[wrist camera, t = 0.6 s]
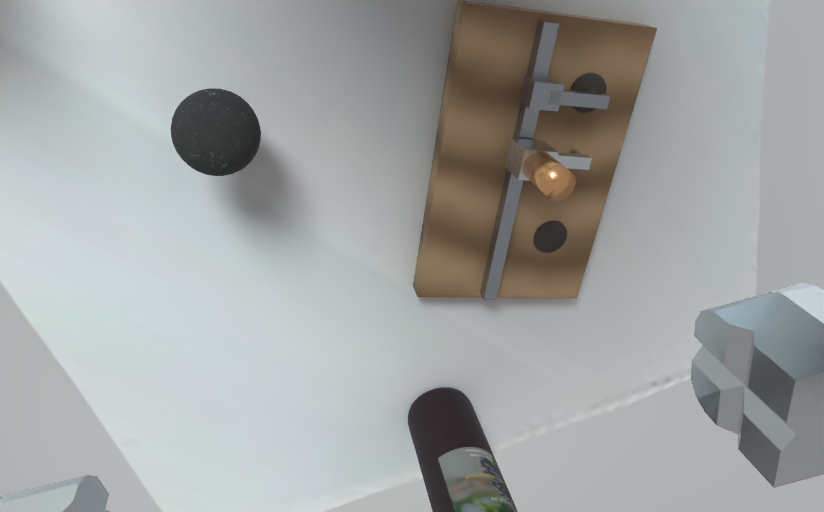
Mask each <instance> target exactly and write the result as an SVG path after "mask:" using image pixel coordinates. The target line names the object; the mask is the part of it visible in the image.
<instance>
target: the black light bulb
mask: <svg viewBox="0 0 824 512" xmlns="http://www.w3.org/2000/svg"><path fill="white" fill-rule="evenodd" d="M171 137H172V141H173V144H174V147H175V149H176V151H177V153H178V154H179V155H180V157H181V158H182V159H183V161H185V162H186V163H187V164H188V165H189V166H190V167H192V168H193V169H195V170H197V171H199V172H201V173H204V174H207V175H213V176H224V175H229V174H233V173H235V172H237V171H239V170H241V169H243V168H244V167H246V166H247V165H248V164H249V163H250V162H251V160H252V159H253V158H254V156H255V154H256V153H257V151H258V148H259V144H260V137H261V131H260V125H259V121H258V119H257V117H256V114H255V113H254V111H253V109H252V108H251V107H250V105H249V104H248V103H247V102H246V101H245V100H243V99H242V98H241V97H239V96H238V95H236V94H234V93H232V92H230V91H226V90H222V89H205V90H200V91H197V92H195V93H193V94H191V95H190V96H188V97H187V98H186V99H184V100H183V101H182V102H181V103H180V105H179V106H178V107H177V109H176V111H175V113H174V116H173V118H172V125H171Z"/></svg>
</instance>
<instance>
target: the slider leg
mask: <svg viewBox="0 0 824 512" xmlns="http://www.w3.org/2000/svg"><path fill="white" fill-rule="evenodd" d="M591 160H592V158H591V157H590V156H588V155H583V154H582V153H580V152H579V151H577V150H576V149H573V150H571V152H570V154H569V153H559V152H558V151H556V150H555V149H554V148H552V147H551V146H550V145H548V144H547V143H546V142H545V141H542V140H529V139H516V138H511V141H510V146H509V151H508V155H507V160H506V165H505V167H506V168H507V169H508V170H509V171H510V172H511V173H512V174H513V175H514V176H515V177H516V178H517V179H518V180H527V181H531V182H532V183H533V184H534V185H535V186H536V187H537V188H538V189H539V190H540V191H542V192H543V193H544V194H545V195H546V196H547V197H548V198H549V199H551V200H554V201H560V200H563V199H565V198H567V197H568V196H569V195H570V194H571V193H572V192H573V190H574V188H575V184H576V179H575V176H574V174H573V173H572V172H571V171H570V170H568V169H567V168H569V169H584V170H589V167H590V164H591Z"/></svg>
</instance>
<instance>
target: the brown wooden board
mask: <svg viewBox="0 0 824 512" xmlns="http://www.w3.org/2000/svg"><path fill="white" fill-rule="evenodd" d="M538 20H544V21H551V22H555V23H558V24H559V27H558V31H557V36H556V40H555V45H554V49H553V53H552V58H551V62H550V66H549V71H548V75H547V79H554V80H556V81H558V82H560V83H562V84H564V85H565V86H564V90H571V91H581V92H586V91H587V90H593V91H595V92H597V93H601V94H607V95H609V96H611V97H610V100H609V104H608V107H607V109H598V108H587V107H577V106H566V105H560V106H559V110H558V111H548V110H539V114H538V119H537V123H536V128H535V132H534V136H533V140H542V141H545V142H546V143H547V144H548V145H550V146H551V147H552V148H554V149H555V150H556V151H558V152H559V153H569V154H570V152H571V150H573V149H576V150H577V151H579V152H580V153H582V154H583V155H588V156H590V157H591V158H592V160H591V164H590V167H589V170H584V169H569V168H567V169H568V170H570V171H571V172H572V173H573V174H574V176H575V179H576V184H575V188H574V190H573V192H572V193H571V194H570V195H569V196H568V197H567V198H565V199H563V200H560V201H554V200H551V199H549V198H548V197H547V196H546V195H545V194H544V193H543V192H542V191H540V190H539V189H538V188H537V187H536V186H535V185H534V184H533V183H532V182H531V181H527V180H523V184H522V189H521V193H520V197H519V202H518V206H517V211H516V215H515V219H514V224H513V228H512V232H511V237H510V241H509V246H508V250H507V254H506V259H505V263H504V267H503V272H502V276H501V281H500V285H499V289H498V294H497V298H577V296H578V293H579V289H580V286H581V282H582V279H583V276H584V272H585V269H586V266H587V262H588V259H589V256H590V252H591V249H592V245H593V242H594V239H595V235H596V232H597V229H598V225H599V222H600V218H601V215H602V212H603V208H604V205H605V202H606V198H607V195H608V192H609V188H610V185H611V181H612V178H613V175H614V171H615V168H616V165H617V161H618V158H619V154H620V151H621V148H622V144H623V141H624V138H625V134H626V131H627V128H628V124H629V121H630V117H631V114H632V111H633V107H634V104H635V101H636V97H637V94H638V91H639V87H640V84H641V80H642V77H643V74H644V70H645V67H646V64H647V60H648V57H649V53H650V50H651V47H652V43H653V40H654V37H655V33H656V30H657V28H654V27H650V26H646V25H640V24H633V23H625V22H618V21H610V20H603V19H596V18H588V17H581V16H573V15H566V14H558V13H551V12H543V11H536V10H528V9H521V8H513V7H506V6H498V5H491V4H483V3H476V2H469V1H461V0H458V3H457V9H456V16H455V22H454V28H453V35H452V41H451V47H450V54H449V60H448V67H447V73H446V79H445V86H444V92H443V99H442V105H441V111H440V118H439V124H438V130H437V137H436V143H435V150H434V156H433V162H432V169H431V175H430V182H429V188H428V194H427V201H426V207H425V213H424V220H423V226H422V233H421V239H420V245H419V252H418V258H417V265H416V271H415V277H414V284H413V287H414V289H415V291H416V294H417V296H418V297H482V296H481V294H480V290H481V285H482V280H483V276H484V271H485V266H486V262H487V257H488V252H489V248H490V243H491V238H492V234H493V229H494V224H495V220H496V215H497V210H498V206H499V201H500V196H501V192H502V187H503V182H504V178H505V173H506V167H505V165H506V160H507V155H508V151H509V146H510V141H511V138H513V135H514V131H515V126H516V121H517V117H518V112H519V107H520V98H521V93H522V89H523V84H524V79H525V76H526V75H527V70H528V65H529V61H530V56H531V51H532V47H533V42H534V37H535V33H536V28H537V23H538Z"/></svg>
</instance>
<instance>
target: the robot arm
mask: <svg viewBox="0 0 824 512" xmlns="http://www.w3.org/2000/svg"><path fill="white" fill-rule="evenodd" d="M694 336H695V337H696V338H697V339H698V340H699V341H700V342H701V344H702V345H703V346H702V348H701V349H700V350H699V352H698V353H697V354H696V356H695V357H694V359H693V360H692V371H691V381H692V384H693V387H694V390H695V394H696V397H697V399H698V401H699V403H700V404H701V406H702V408H703V409H704V411H705V412H706V414H707V415H708V416H709V417H710V418H711V419H712V421H713V422H714V423H715V424H716V425H717V426H720V427H722V428H724V429H727V430H729V431H732V432H734V433H737V434H738V449H739V450H740V451H741V453H742V454H743V455H744V456H745V457H746V458H747V459H748V460H749V461H750V462H751V463H752V465H753V466H754V467H755V468H756V469H757V470H758V471H759V472H760V473H761V474H762V475H763V476H764V477H765V479H766V480H767V481H768V482H769V483H770V484H771V485H772V486H773V487H778V486H782V485H785V484H789V483H793V482H797V481H800V480H804V479H808V478H811V477H815V476H819V475H822V474H824V290H822V289H821V288H819V287H818V286H816V285H812V284H808V283H799V284H796V285H792V286H789V287H785V288H782V289H778V290H775V291H771V292H769V293H768V294H763V295H759V296H755V297H751V298H748V299H744V300H741V301H737V302H733V303H730V304H726V305H722V306H719V307H715V308H711V309H708V310H704V311H701V313H700V314H699V316H698V318H697V320H696V323H695V333H694ZM108 496H109V493H108V492H107V490H106V489H105V487H104V486H103V484H102V483H101V481H100V480H99V479H98V477H97V476H90V475H85V476H81V477H77V478H73V479H69V480H65V481H61V482H57V483H53V484H48V485H45V486H40V487H36V488H32V489H28V490H24V491H19V492H15V493H12V494H7V495H5V496H4V497H0V512H110V511H107V510H105V507H106V503H107V500H108Z"/></svg>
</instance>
